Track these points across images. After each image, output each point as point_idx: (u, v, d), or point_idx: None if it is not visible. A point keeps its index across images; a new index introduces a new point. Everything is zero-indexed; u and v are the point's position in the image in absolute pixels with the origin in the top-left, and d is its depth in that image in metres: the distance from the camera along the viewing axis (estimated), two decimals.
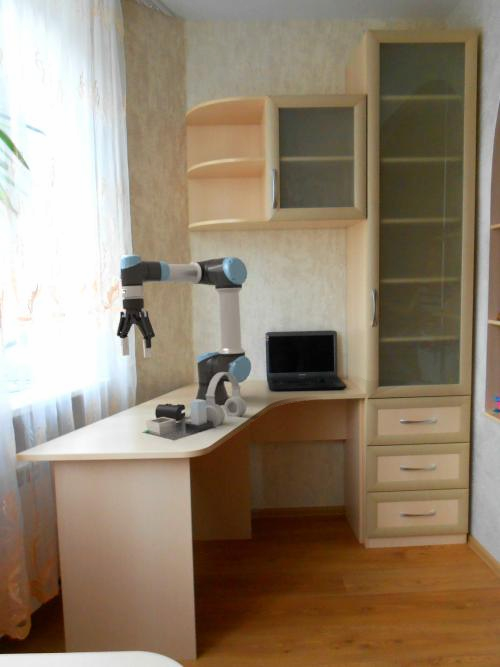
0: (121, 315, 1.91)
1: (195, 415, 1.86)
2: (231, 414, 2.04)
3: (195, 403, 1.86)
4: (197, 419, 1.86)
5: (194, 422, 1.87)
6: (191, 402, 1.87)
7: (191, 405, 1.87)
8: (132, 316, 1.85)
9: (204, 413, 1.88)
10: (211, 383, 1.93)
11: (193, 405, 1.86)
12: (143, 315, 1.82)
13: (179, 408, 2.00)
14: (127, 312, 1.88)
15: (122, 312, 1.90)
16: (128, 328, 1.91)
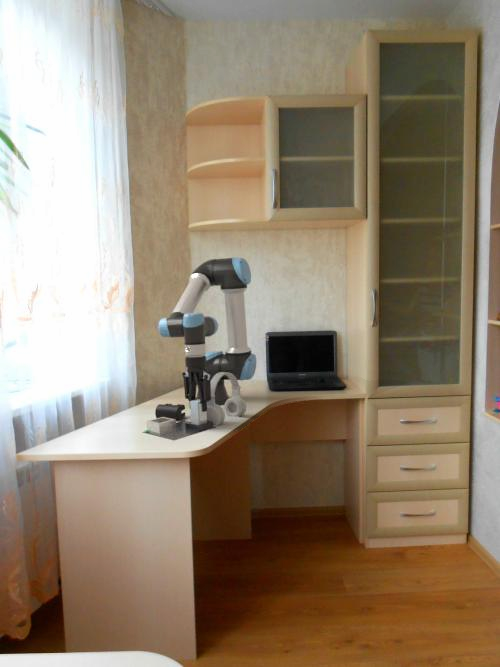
0: (184, 376, 1.90)
1: (195, 415, 1.86)
2: (231, 414, 2.04)
3: (195, 403, 1.86)
4: (197, 419, 1.86)
5: (194, 422, 1.87)
6: (191, 402, 1.87)
7: (191, 405, 1.87)
8: (195, 375, 1.84)
9: None
10: (211, 383, 1.93)
11: (193, 405, 1.86)
12: (206, 379, 1.82)
13: (179, 408, 2.00)
14: (188, 369, 1.88)
15: (184, 372, 1.90)
16: (194, 387, 1.89)
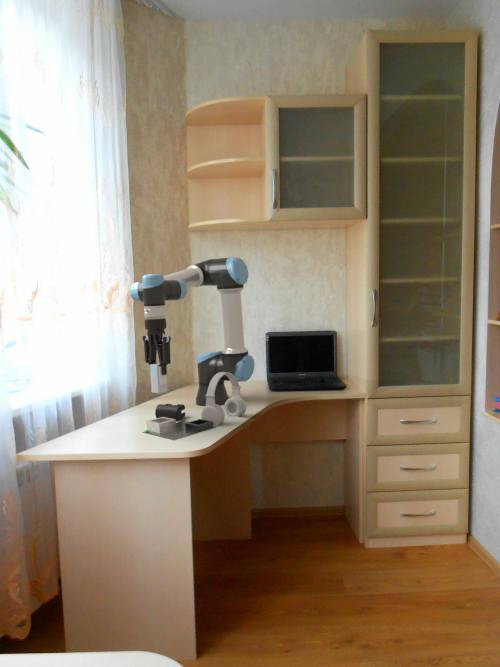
0: (144, 339, 1.86)
1: (155, 378, 1.82)
2: (231, 414, 2.04)
3: (154, 366, 1.82)
4: (156, 383, 1.82)
5: (154, 386, 1.83)
6: (151, 366, 1.83)
7: (151, 369, 1.83)
8: (154, 337, 1.80)
9: None
10: (211, 383, 1.93)
11: (153, 368, 1.83)
12: (165, 341, 1.78)
13: (179, 408, 2.00)
14: (148, 331, 1.84)
15: (144, 336, 1.86)
16: (154, 351, 1.85)
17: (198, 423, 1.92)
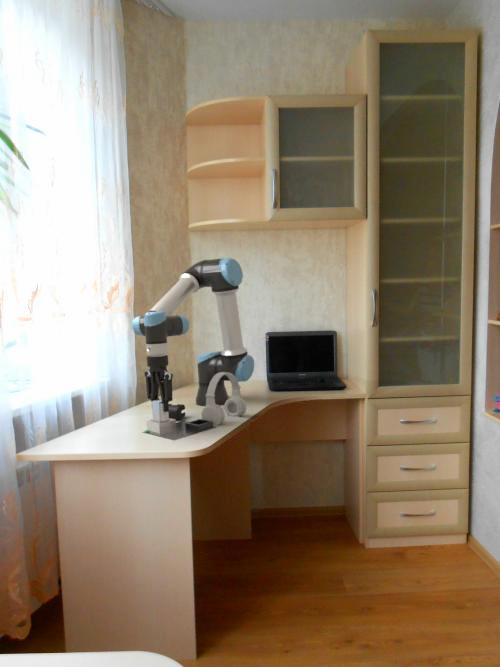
0: (146, 375, 1.87)
1: (157, 415, 1.83)
2: (231, 414, 2.04)
3: (156, 403, 1.83)
4: (158, 419, 1.83)
5: None
6: (153, 402, 1.84)
7: (153, 405, 1.84)
8: (156, 375, 1.81)
9: None
10: (211, 383, 1.93)
11: (155, 405, 1.84)
12: (167, 379, 1.79)
13: (179, 408, 2.00)
14: (150, 368, 1.85)
15: (146, 372, 1.87)
16: (156, 387, 1.86)
17: (198, 423, 1.92)
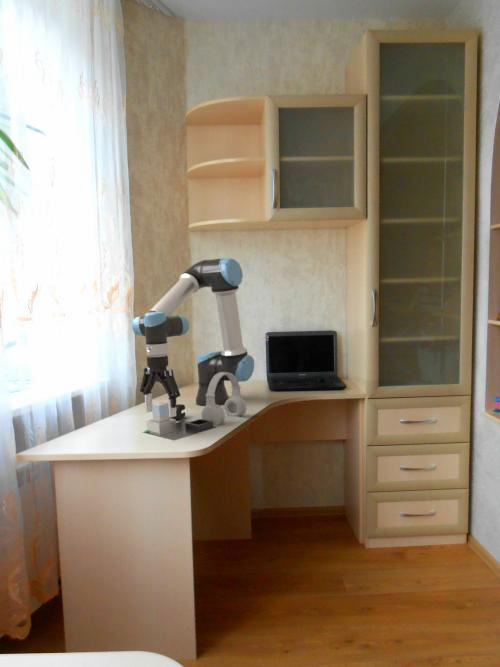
0: (145, 372, 1.87)
1: (157, 418, 1.83)
2: (231, 414, 2.04)
3: (157, 406, 1.83)
4: None
5: None
6: (153, 405, 1.84)
7: (153, 408, 1.84)
8: (157, 374, 1.81)
9: (167, 416, 1.85)
10: (211, 383, 1.93)
11: (155, 408, 1.84)
12: (168, 374, 1.79)
13: (179, 408, 2.00)
14: (151, 369, 1.85)
15: (146, 369, 1.87)
16: (152, 384, 1.87)
17: (198, 423, 1.92)
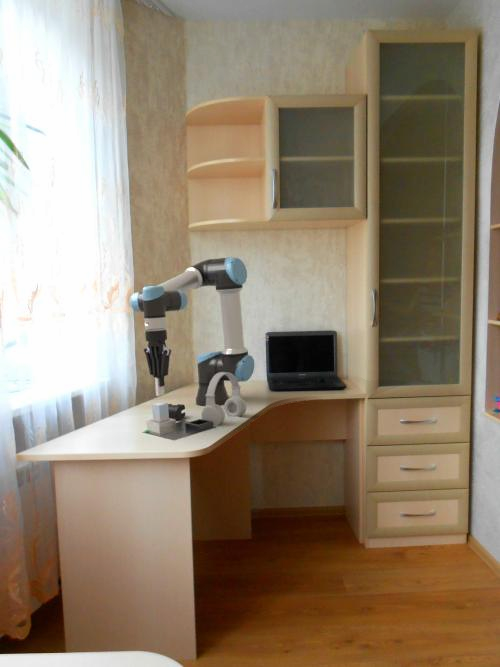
0: (145, 352, 1.86)
1: (157, 418, 1.83)
2: (231, 414, 2.04)
3: (157, 406, 1.83)
4: None
5: None
6: (153, 405, 1.84)
7: (153, 408, 1.84)
8: (155, 349, 1.81)
9: (167, 416, 1.85)
10: (211, 383, 1.93)
11: (155, 408, 1.84)
12: (165, 354, 1.79)
13: (179, 408, 2.00)
14: (149, 343, 1.84)
15: None
16: (157, 362, 1.84)
17: (198, 423, 1.92)
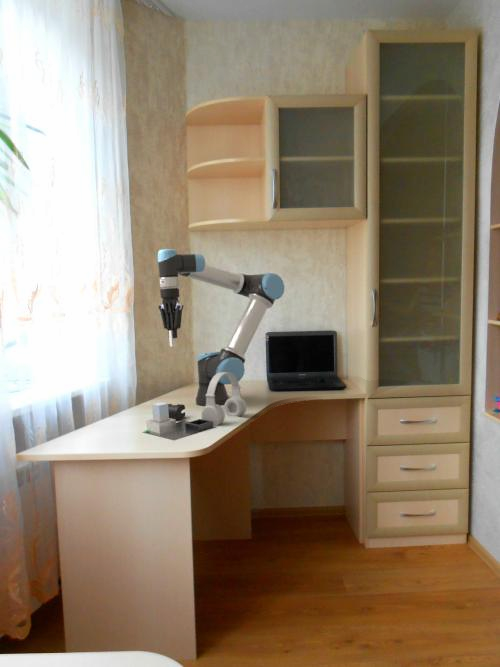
0: (160, 308, 2.11)
1: (157, 418, 1.83)
2: (231, 414, 2.04)
3: (157, 406, 1.83)
4: None
5: None
6: (153, 405, 1.84)
7: (153, 408, 1.84)
8: (169, 305, 2.06)
9: (167, 416, 1.85)
10: (211, 383, 1.93)
11: (155, 408, 1.84)
12: (178, 309, 2.04)
13: (179, 408, 2.00)
14: (163, 300, 2.09)
15: None
16: None
17: (198, 423, 1.92)
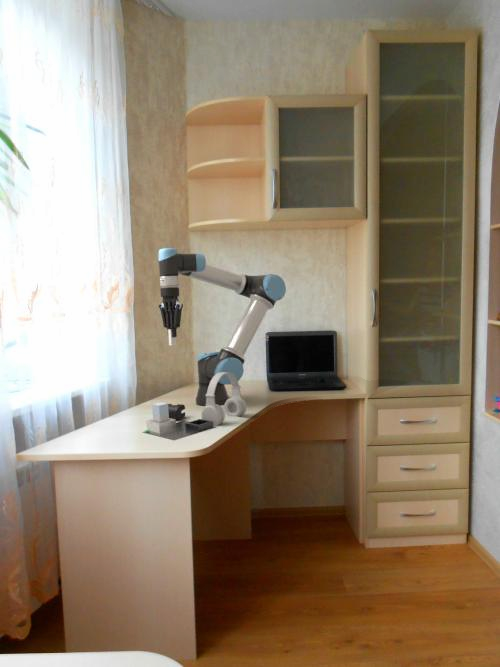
0: (160, 307, 2.12)
1: (157, 418, 1.83)
2: (231, 414, 2.04)
3: (157, 406, 1.83)
4: None
5: None
6: (153, 405, 1.84)
7: (153, 408, 1.84)
8: (169, 304, 2.06)
9: (167, 416, 1.85)
10: (211, 383, 1.93)
11: (155, 408, 1.84)
12: (178, 308, 2.05)
13: (179, 408, 2.00)
14: (163, 299, 2.10)
15: None
16: None
17: (198, 423, 1.92)
